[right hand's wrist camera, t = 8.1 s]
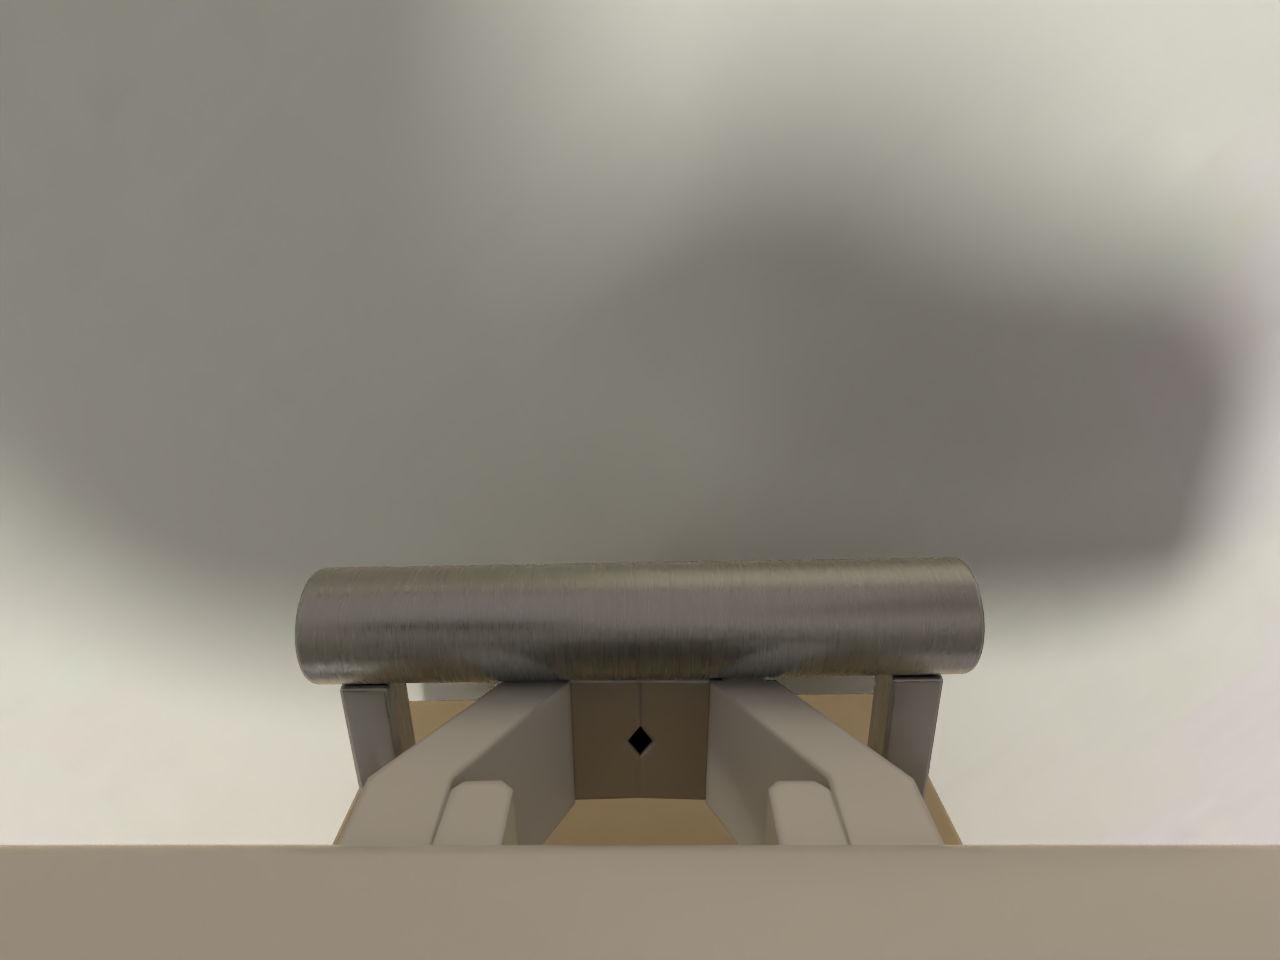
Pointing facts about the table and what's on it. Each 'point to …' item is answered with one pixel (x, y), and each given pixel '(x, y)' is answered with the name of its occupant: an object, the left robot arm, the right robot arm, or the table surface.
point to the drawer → (645, 652)
